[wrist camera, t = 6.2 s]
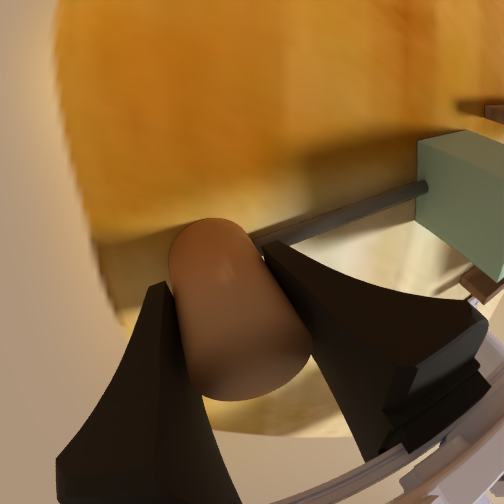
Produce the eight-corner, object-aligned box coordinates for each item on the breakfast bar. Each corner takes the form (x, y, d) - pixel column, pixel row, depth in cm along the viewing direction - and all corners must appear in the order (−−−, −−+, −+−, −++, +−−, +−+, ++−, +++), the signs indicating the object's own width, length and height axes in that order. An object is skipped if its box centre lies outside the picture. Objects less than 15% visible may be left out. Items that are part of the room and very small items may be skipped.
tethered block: (462, 199, 15) (535, 247, 11) (190, 311, 13) (222, 432, 8) (467, 130, 13) (554, 169, 8) (149, 224, 11) (159, 353, 6)
